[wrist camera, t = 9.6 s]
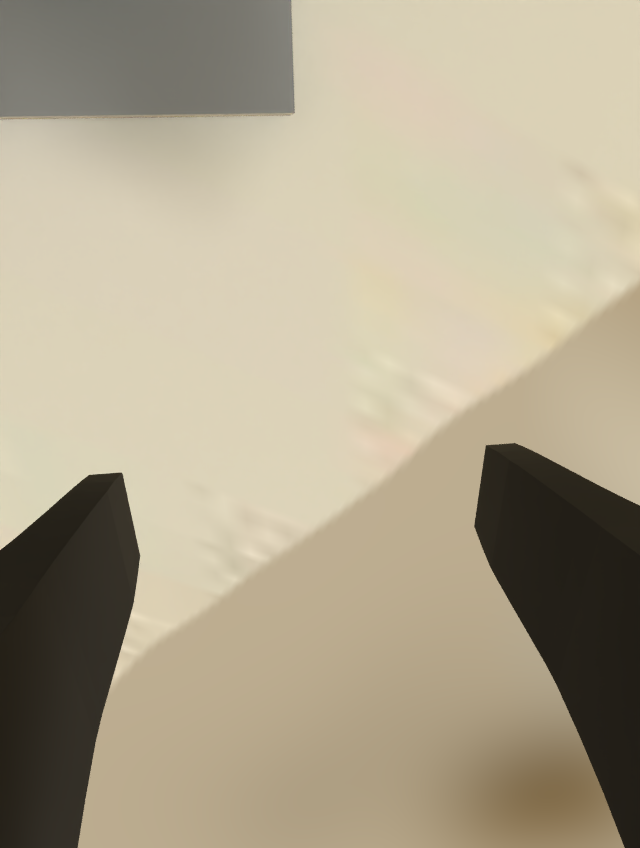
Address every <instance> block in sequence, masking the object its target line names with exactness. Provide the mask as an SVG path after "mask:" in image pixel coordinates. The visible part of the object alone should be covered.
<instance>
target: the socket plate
mask: <svg viewBox="0 0 640 848" xmlns="http://www.w3.org/2000/svg"><path fill="white" fill-rule="evenodd" d="M293 113H295V111H294V80H293V48H292V16H291V0H0V119H56V118H132V117H209V116H285V115H291V114H293Z"/></svg>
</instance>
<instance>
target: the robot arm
mask: <svg viewBox="0 0 640 848" xmlns="http://www.w3.org/2000/svg"><path fill="white" fill-rule="evenodd" d="M475 529H476V532H477V534H478V537H479V540H480V542H481V545H482V548H483V550H484V553H485V555H486V557H487V560H488V562H489V565H490V567H491V569H492V571H493V573H494V575H495V576H496V578H497V580H498V582H499V584H500V585H501V587H502V589H503V590H504V592H505V594H506V596H507V598H508V599H509V601H510V603H511V605H512V606H513V608H514V610H515V611H516V613H517V615H518V617H519V618H520V620H521V622H522V624H523V625H524V627H525V629H526V631H527V632H528V634H529V636H530V637H531V639H532V641H533V643H534V644H535V646H536V648H537V650H538V651H539V653H540V655H541V657H542V658H543V660H544V662H545V663H546V665H547V667H548V669H549V671H550V673H551V675H552V676H553V679H554V681H555V683H556V684H557V687H558V689H559V691H560V693H561V695H562V698H563V700H564V702H565V704H566V706H567V709H568V711H569V713H570V716H571V718H572V720H573V722H574V724H575V726H576V729H577V731H578V733H579V736H580V738H581V740H582V743H583V745H584V747H585V750H586V752H587V754H588V757H589V759H590V762H591V764H592V766H593V769H594V771H595V774H596V776H597V778H598V781H599V783H600V785H601V788H602V790H603V793H604V795H605V798H606V800H607V803H608V806H609V808H610V811H611V813H612V816H613V819H614V821H615V824H616V826H617V829H618V832H619V834H620V837H621V839H622V842H623V844H624V847H625V848H640V506H639V505H637V504H635V503H633V502H631V501H629V500H627V499H625V498H623V497H620V496H618V495H617V494H615V493H613V492H611V491H609V490H607V489H605V488H603V487H601V486H599V485H597V484H595V483H593V482H591V481H589V480H587V479H585V478H583V477H582V476H580V475H578V474H576V473H574V472H572V471H570V470H568V469H566V468H565V467H562V466H561V465H559V464H557V463H555V462H553V461H551V460H549V459H547V458H545V457H543V456H542V455H540V454H538V453H535V452H533V451H531V450H529V449H527V448H525V447H523V446H520V445H518V444H515V443H513V444H499V445H486V449H485V456H484V463H483V470H482V477H481V484H480V490H479V497H478V504H477V512H476V518H475ZM139 560H140V553H139V549H138V544H137V540H136V535H135V530H134V526H133V521H132V516H131V512H130V507H129V502H128V498H127V493H126V488H125V484H124V479H123V474H122V473H110V474H96V475H89V476H87V477H86V478H85V479H83V480H82V481H81V482H80V483H79V484H77V485H76V486H75V487H74V488H73V489H72V490H70V491H69V492H68V493H67V494H66V495H65V496H64V497H62V498H61V499H60V500H59V501H58V502H57V503H56V504H54V505H53V506H52V507H51V508H50V509H49V510H48V511H47V512H45V513H44V514H43V515H42V516H41V517H40V518H38V519H37V520H36V521H35V522H34V523H33V524H31V525H30V526H29V527H28V528H27V529H26V530H24V531H23V532H22V533H21V534H20V535H19V536H17V537H16V538H15V539H14V540H13V541H11V542H10V543H9V544H8V545H6V546H5V547H4V548H2V549H1V550H0V848H77V847H78V841H79V835H80V828H81V823H82V816H83V810H84V804H85V798H86V792H87V786H88V781H89V775H90V770H91V765H92V759H93V753H94V748H95V742H96V737H97V734H98V729H99V725H100V721H101V717H102V713H103V709H104V706H105V702H106V699H107V695H108V692H109V688H110V685H111V681H112V678H113V674H114V671H115V667H116V664H117V660H118V657H119V653H120V650H121V646H122V643H123V639H124V636H125V632H126V629H127V625H128V621H129V618H130V614H131V610H132V607H133V603H134V596H135V590H136V583H137V576H138V568H139Z"/></svg>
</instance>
